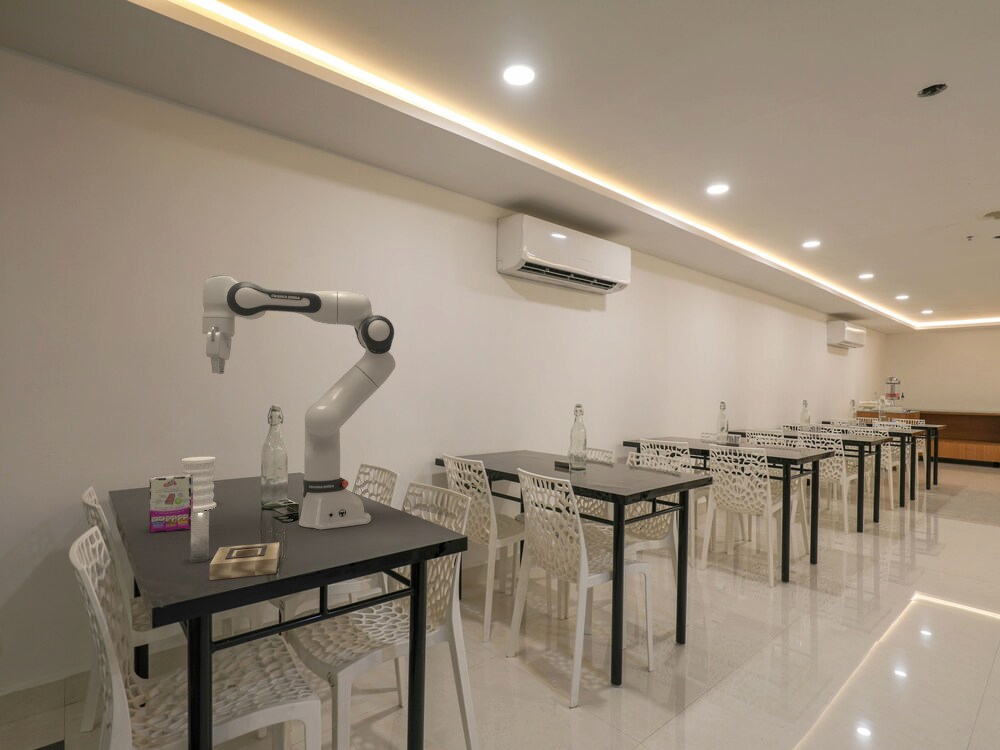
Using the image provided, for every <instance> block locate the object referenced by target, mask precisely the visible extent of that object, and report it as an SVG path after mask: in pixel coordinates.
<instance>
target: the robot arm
mask: <svg viewBox="0 0 1000 750" xmlns="http://www.w3.org/2000/svg"><path fill="white" fill-rule="evenodd" d="M202 307H203V315H202V325H201V326H202V328H201V329H202V330H201V331H202V334H203V335H206V347H205V353H206V357H207V358H210V363H211V364H210V365H211V373H213V374H218V375H223V374H225V368H226V367H225V366H226V361H227V360H229V359H230V358H231V357H230V356H231V349H232V338H233V337H234V335H235V333H236V332H235V329H236V328H235V327H236V325H235V323H236V322H235V320H236V319H235V318H236V317H238V318H243V319H246V320H250V321H252V320H256V319H260V318H261V317H263V316H264V315H265V314H266V312H283V313H295V314H300V315H302V316H305V317H307V318H309V319H310V320H312V321H314V322H317V323H322V324H325V325H326V324H327V325H343V326H344V325H345V326H351V327H353V329H354V331H355V335H356V338H357V340H358V343H359V345H360V346H361V347H362V348H363V349H365V352H364V355H362V357H361V358H360V359H359V360H358V361H357V362H356V363H355V364H354V365H353V366H352V367H351V368H350V369H348V371H346V373H345V374H344V375H342V376H341V377H340V378H339V379H338V380H336V382H335V383H334V384H332V386H331V387H330V388H329V389H328V390H327V391H326V392H325V393H323V395H322V396H321V397H319V399H317V401H316V402H314V403H313V404H311V405H310V406H309V407H308V409H307V410H306V412H305V415H304V467H303V469H304V473H303V475H304V479H303V480H302V484H301V485H302V491H301V493H302V497H303V498H302V499H303V501H302V507H301V513H300V518H299V522H298V526H301V527H303V528H313V529H317V530H327V529H338V528H342V527H343V528H344V527H351V526H352V527H353V526H361V525H367V524H369V523H370V522H371V521H372V516H371V515H370V514H369V512H365V506H364V503H363V501H362V500H361V499H360V497H359V496H357V495H355V494H354V493H352V492H351V491H350V490H348V489H347V487H348V486H349V481H348V480H347V479H345V478H342V477H341V437H340V436H341V432H340V431H341V428H342V427H343V425H344V424H345V423H346V422H347V421H348V420H349V419H350V418H351V417H352V416H353V415H354V414H355V413H356V412H357V411H358V409H360V407H361V406H363V404H364V403H366V401H367V400H368V399H369V398H370V397H371V396H372V395H373V394H374V393H376V391H377V390H378V389H379V388H381V386H383V384H384V383H385V382H386V381H387V380H388V378H389V377H390V376H391V375H392V373H393V371H394V370H395V368H396V361H395V357H394V356H393V355H392V353H391V352H390V350H391V348H392V343H393V340H394V336H395V328H394V325H393V323H392V322H391V321H390V319H388V317H386V316H383V315H379V314H377V315H374V313H373V312H372V303H371V301H370V299H369V298H368V297H367V296H366V295H364V294H361V293H357V292H353V291H352V292H351V291H346V290H331V289H329V290H316V291H315V290H314V291H312V290H311V291H301V292H300V291H289V290H288V291H287V290H276V289H267V288H265V287H262V286H259V285H257V284H255V283H253V282H249V281H240V282H239V281H237V280H236V279H234V278H233V277H232V276H230V275H224V274H223V275H214V276H211V277H208V278H207V279H206V280H205V281H204V285H203V291H202Z"/></svg>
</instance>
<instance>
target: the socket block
mask: <svg viewBox="0 0 1000 750" xmlns="http://www.w3.org/2000/svg"><path fill="white" fill-rule="evenodd" d="M280 546H281V545H280V542H270V543H269V542H268V543H258V544H245V545H231V546H222V547H221V546H220V547H219V548H218V550H217V551H216V553H215V555H214V557H213V559H212V560H211V561H210V563H209V581H213V580H223V579H232V578H233V579H234V578H242V577H253V576H262V575H263V576H264V575H273V574H276V573H277V570H278V564H279V560H280Z"/></svg>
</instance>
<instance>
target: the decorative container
mask: <svg viewBox="0 0 1000 750" xmlns="http://www.w3.org/2000/svg"><path fill="white" fill-rule="evenodd" d="M216 458H217V457H215V456H192V457H185V458H182V459H181V464H183V465H184V468H182V474H183V475H191V474H193V512H196V511H204V510H207V511H210V510H209V509H211V510H214V509H216V508H217V502H215V501H214V497H215V493H214V489H215V484H214V481H215V475H214V472H215V466H214V463H215V462H216ZM215 507H216V508H215ZM213 508H214V509H213Z"/></svg>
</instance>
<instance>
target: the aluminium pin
mask: <svg viewBox="0 0 1000 750" xmlns="http://www.w3.org/2000/svg"><path fill="white" fill-rule="evenodd" d="M209 531H210V510H207V511H196V512H192V513H191V529H190V562H191V563H202V562H206V561H208V560H209V553H210V552H209V550H210V549H209V546H210V545H209V544H210V541H209V540H210V536H209V535H210V532H209Z"/></svg>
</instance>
